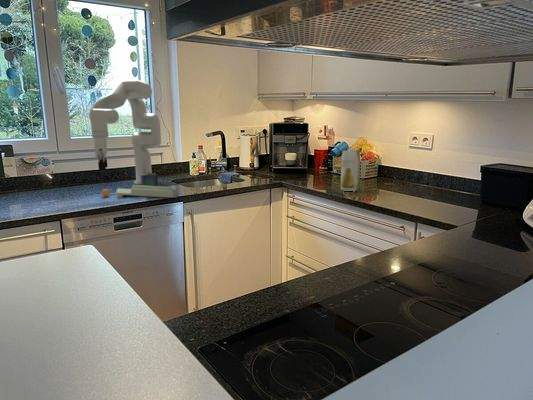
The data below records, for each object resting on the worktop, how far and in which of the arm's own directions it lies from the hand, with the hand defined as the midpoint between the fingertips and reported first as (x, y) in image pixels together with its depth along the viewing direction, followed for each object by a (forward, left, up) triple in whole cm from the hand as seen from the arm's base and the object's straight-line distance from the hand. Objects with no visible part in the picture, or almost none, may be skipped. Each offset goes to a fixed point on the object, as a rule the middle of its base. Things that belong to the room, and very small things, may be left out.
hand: (103, 168), depth 207 cm
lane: (0, +20, -16) cm, 25 cm away
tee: (0, 0, -16) cm, 16 cm away
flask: (-19, +22, -16) cm, 33 cm away
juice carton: (+18, +130, -16) cm, 132 cm away
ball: (0, 0, -15) cm, 15 cm away
